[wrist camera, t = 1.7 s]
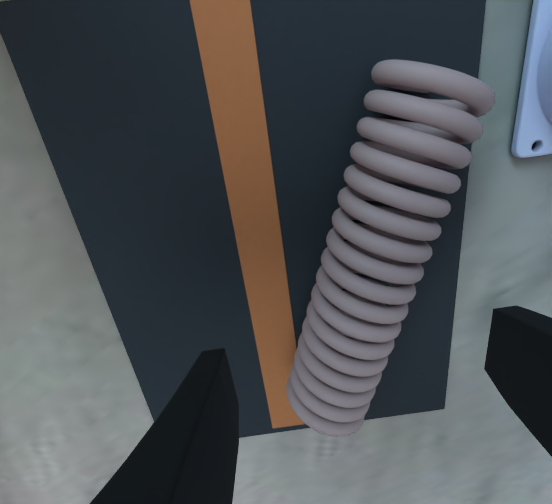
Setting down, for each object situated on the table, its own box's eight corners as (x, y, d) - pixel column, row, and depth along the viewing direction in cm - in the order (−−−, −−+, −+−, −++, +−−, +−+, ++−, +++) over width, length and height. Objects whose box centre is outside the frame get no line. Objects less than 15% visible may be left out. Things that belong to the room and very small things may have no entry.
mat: (489, -68, 13) (494, -71, 13) (442, 406, 23) (444, 409, 23) (-8, 4, 13) (-12, 3, 13) (165, 445, 23) (164, 448, 23)
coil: (374, 445, 17) (542, 71, 11) (291, 447, 16) (419, 33, 10) (344, 379, 21) (450, 81, 15) (276, 377, 20) (358, 56, 14)
